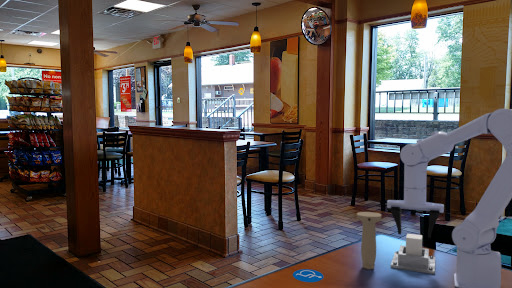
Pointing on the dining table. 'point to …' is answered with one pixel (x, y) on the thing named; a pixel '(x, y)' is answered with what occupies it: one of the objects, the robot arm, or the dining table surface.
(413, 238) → the block
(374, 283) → the dining table surface
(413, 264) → the bracket
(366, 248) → the handle
